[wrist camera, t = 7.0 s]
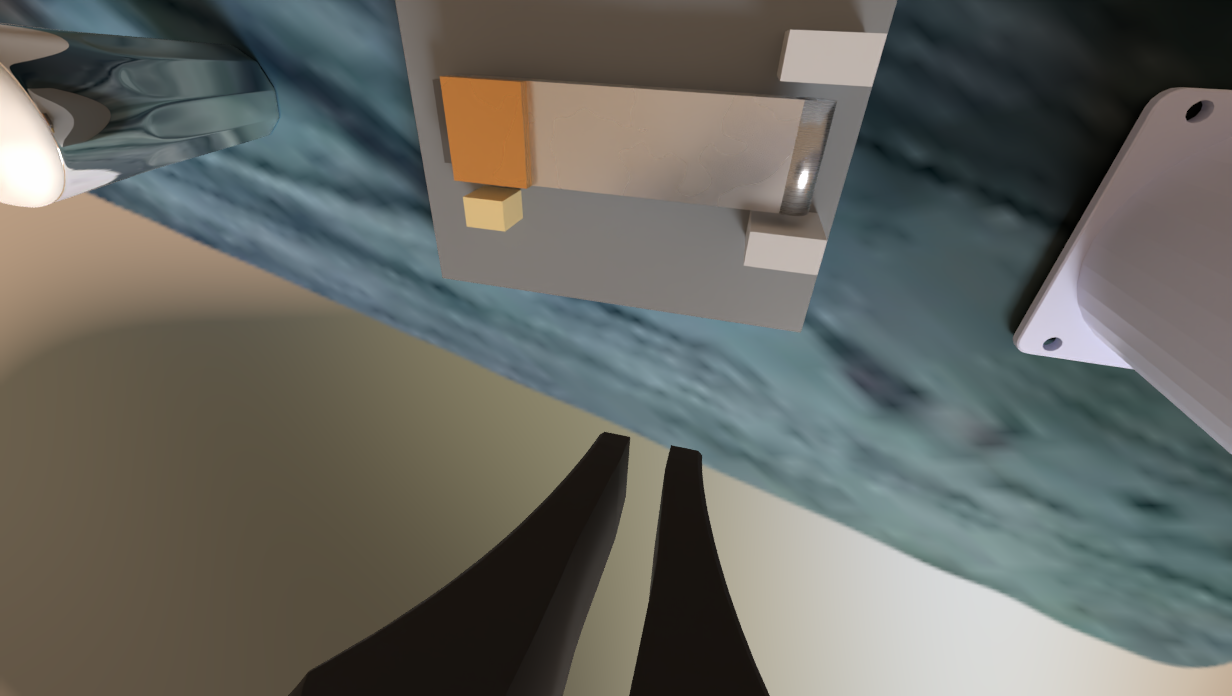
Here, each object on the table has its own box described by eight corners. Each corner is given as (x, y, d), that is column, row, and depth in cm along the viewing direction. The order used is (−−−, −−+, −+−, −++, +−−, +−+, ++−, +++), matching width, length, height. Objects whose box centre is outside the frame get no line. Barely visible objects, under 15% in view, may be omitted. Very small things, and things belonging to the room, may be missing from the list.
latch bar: (834, 98, 12) (841, 104, 11) (807, 207, 14) (810, 221, 13) (463, 73, 14) (439, 76, 13) (474, 171, 16) (454, 180, 15)
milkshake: (153, 31, 19) (-321, 24, 10) (261, 17, 17) (-183, -5, 9) (212, 156, 21) (-135, 228, 13) (312, 151, 20) (-5, 229, 12)
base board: (918, -121, 12) (980, -184, 8) (797, 312, 18) (806, 372, 15) (406, -115, 14) (301, -161, 11) (461, 263, 21) (405, 305, 18)
